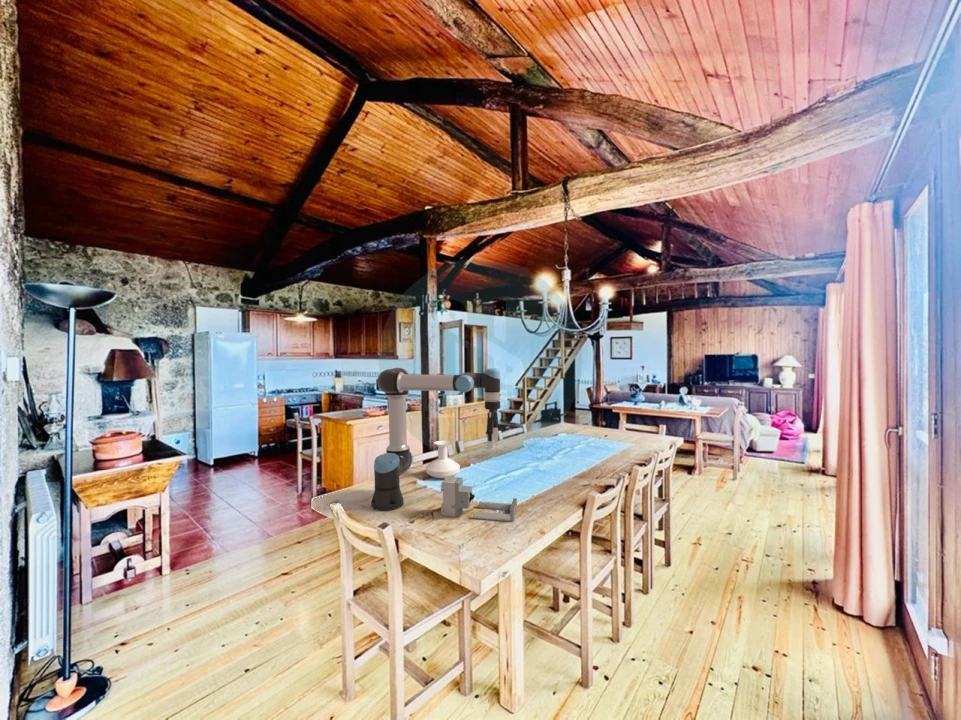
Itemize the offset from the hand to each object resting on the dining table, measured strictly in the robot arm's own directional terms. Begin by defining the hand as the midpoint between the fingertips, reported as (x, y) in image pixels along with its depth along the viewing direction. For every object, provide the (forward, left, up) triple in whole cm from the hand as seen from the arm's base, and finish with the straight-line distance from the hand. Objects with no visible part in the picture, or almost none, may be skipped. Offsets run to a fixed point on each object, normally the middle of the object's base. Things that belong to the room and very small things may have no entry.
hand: (492, 444), depth 197 cm
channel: (+3, -14, -28) cm, 32 cm away
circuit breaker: (-13, -16, -28) cm, 35 cm away
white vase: (-35, +33, -28) cm, 56 cm away
